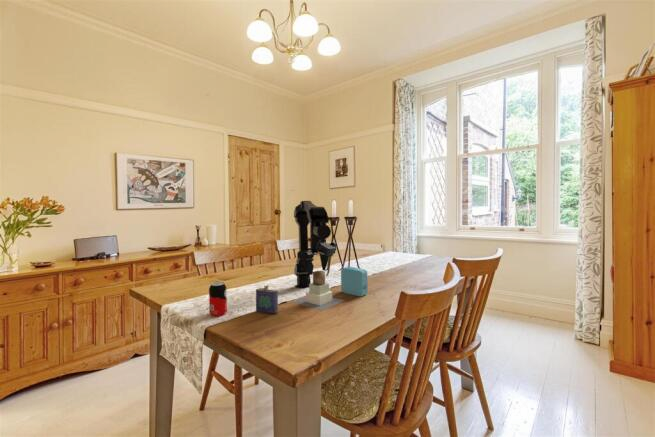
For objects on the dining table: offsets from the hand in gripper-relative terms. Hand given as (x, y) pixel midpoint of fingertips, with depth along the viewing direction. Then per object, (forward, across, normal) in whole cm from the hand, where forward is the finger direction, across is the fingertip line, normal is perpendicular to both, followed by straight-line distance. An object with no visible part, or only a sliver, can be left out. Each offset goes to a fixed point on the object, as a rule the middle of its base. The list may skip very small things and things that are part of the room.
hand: (317, 272), depth 131 cm
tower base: (+12, 0, -1) cm, 12 cm away
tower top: (+8, 0, -1) cm, 9 cm away
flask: (+13, -22, +7) cm, 27 cm away
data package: (+13, +19, -6) cm, 24 cm away
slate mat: (+13, 0, -1) cm, 13 cm away
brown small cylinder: (+5, 0, -1) cm, 5 cm away
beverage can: (+13, -35, +20) cm, 42 cm away
